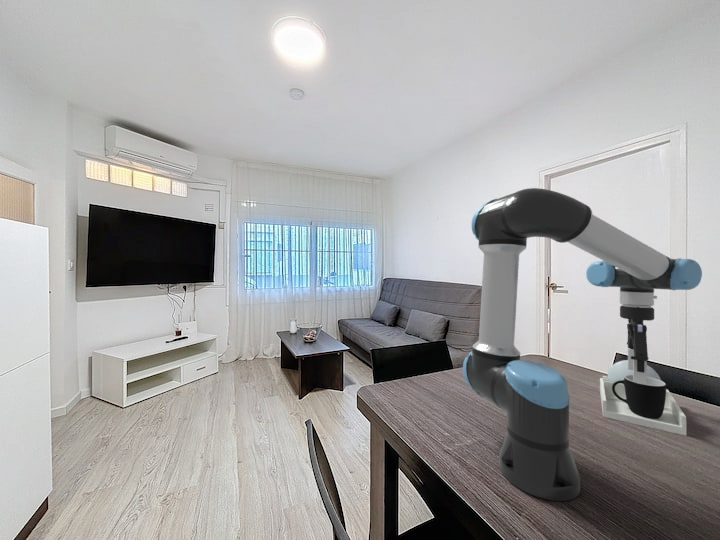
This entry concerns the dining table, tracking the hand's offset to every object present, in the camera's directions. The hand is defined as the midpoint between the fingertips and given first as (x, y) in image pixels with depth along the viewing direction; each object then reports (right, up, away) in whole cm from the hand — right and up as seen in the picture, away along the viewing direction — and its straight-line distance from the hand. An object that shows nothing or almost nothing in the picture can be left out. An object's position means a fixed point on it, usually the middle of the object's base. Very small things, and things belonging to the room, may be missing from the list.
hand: (636, 376), depth 87 cm
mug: (+1, -11, +1) cm, 11 cm away
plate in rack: (+7, -12, +8) cm, 16 cm away
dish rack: (+3, -12, +3) cm, 13 cm away
